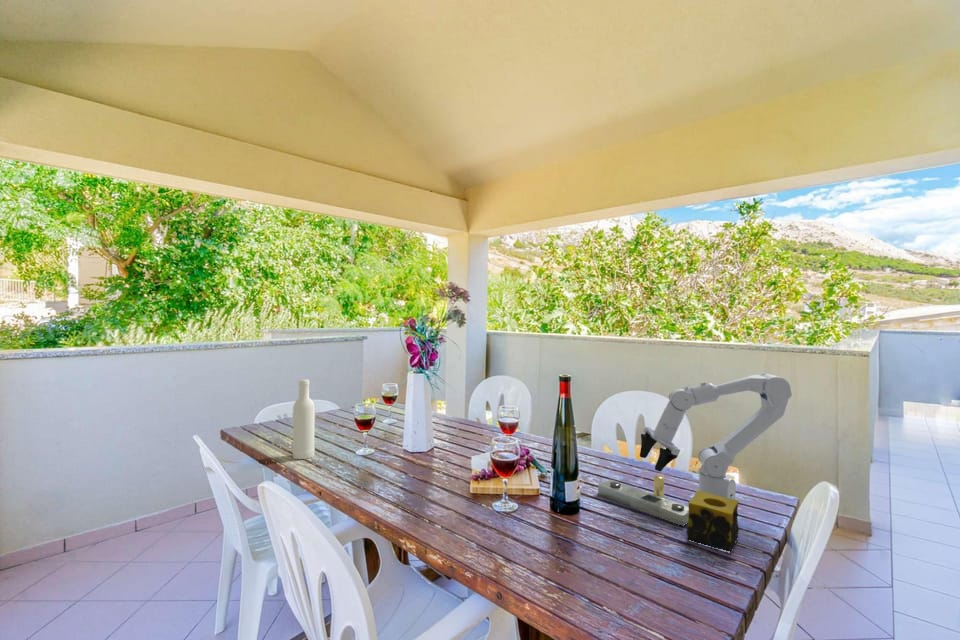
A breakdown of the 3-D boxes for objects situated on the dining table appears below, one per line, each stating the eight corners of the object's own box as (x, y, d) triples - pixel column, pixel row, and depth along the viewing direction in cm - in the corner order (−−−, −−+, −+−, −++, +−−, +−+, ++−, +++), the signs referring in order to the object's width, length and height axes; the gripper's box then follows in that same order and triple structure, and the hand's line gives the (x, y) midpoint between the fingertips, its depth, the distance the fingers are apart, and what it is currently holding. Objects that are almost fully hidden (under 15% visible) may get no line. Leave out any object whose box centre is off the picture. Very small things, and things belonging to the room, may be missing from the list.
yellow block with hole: (695, 526, 118) (696, 489, 118) (738, 539, 111) (739, 500, 111) (685, 541, 110) (686, 501, 110) (731, 555, 103) (732, 513, 103)
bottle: (287, 458, 168) (288, 380, 168) (301, 452, 175) (302, 378, 175) (305, 460, 166) (306, 382, 165) (318, 454, 173) (319, 379, 173)
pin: (665, 500, 134) (666, 477, 134) (660, 502, 132) (661, 479, 132) (656, 496, 137) (657, 474, 136) (651, 499, 135) (652, 476, 135)
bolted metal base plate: (694, 519, 121) (694, 506, 121) (682, 526, 117) (682, 513, 117) (611, 488, 143) (611, 477, 142) (598, 493, 138) (598, 482, 138)
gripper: (644, 412, 142) (626, 449, 143) (674, 433, 128) (655, 473, 130) (660, 417, 144) (643, 453, 146) (692, 438, 130) (672, 478, 132)
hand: (649, 463), depth 138 cm, fingers open, 7 cm apart
